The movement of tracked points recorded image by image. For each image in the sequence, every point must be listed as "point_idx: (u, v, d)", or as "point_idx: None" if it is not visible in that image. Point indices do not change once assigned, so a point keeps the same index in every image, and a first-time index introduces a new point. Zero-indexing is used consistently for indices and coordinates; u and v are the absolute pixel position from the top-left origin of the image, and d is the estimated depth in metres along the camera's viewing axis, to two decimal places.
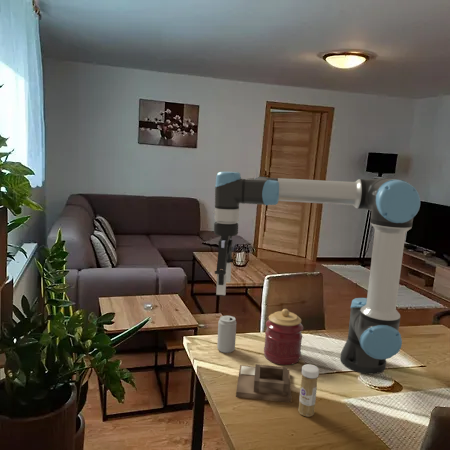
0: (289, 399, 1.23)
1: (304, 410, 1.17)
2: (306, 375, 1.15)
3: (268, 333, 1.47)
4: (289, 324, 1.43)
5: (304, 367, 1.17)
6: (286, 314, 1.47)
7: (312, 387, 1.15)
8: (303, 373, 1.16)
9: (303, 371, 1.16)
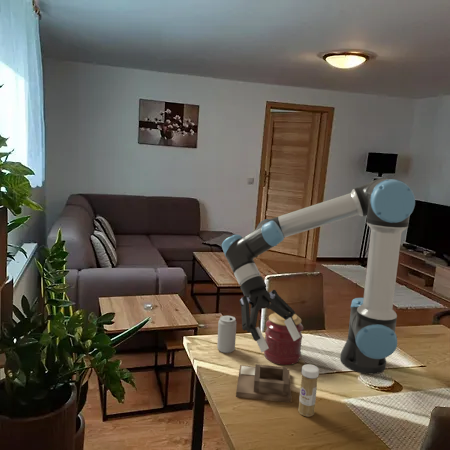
0: (289, 399, 1.23)
1: (304, 410, 1.17)
2: (306, 375, 1.15)
3: (268, 333, 1.47)
4: None
5: (304, 367, 1.17)
6: None
7: (312, 387, 1.15)
8: (303, 373, 1.16)
9: (303, 371, 1.16)
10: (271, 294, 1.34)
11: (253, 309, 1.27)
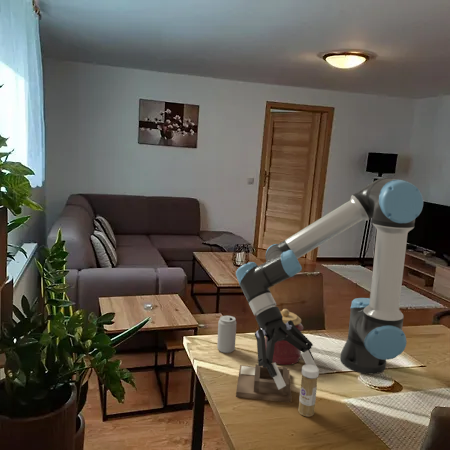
0: (289, 399, 1.23)
1: (304, 410, 1.17)
2: (306, 375, 1.15)
3: None
4: None
5: (304, 367, 1.17)
6: (286, 314, 1.47)
7: (312, 387, 1.15)
8: (303, 373, 1.16)
9: (303, 371, 1.16)
10: (287, 325, 1.28)
11: (269, 342, 1.21)
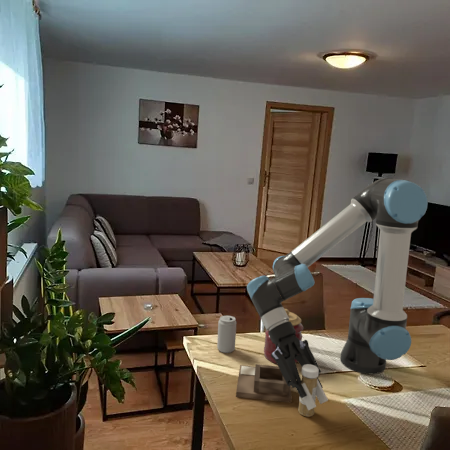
0: (289, 399, 1.23)
1: (304, 410, 1.17)
2: (306, 375, 1.15)
3: None
4: None
5: (304, 367, 1.17)
6: None
7: (312, 387, 1.15)
8: (303, 373, 1.16)
9: (303, 371, 1.16)
10: (301, 343, 1.25)
11: (288, 361, 1.19)
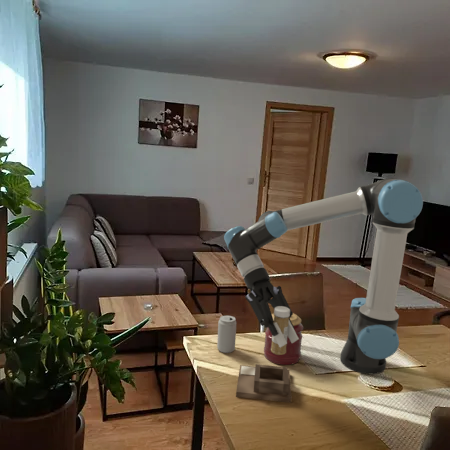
0: (289, 399, 1.23)
1: (276, 348, 1.23)
2: (278, 315, 1.22)
3: (268, 333, 1.47)
4: None
5: (276, 308, 1.23)
6: None
7: (283, 326, 1.22)
8: (275, 313, 1.22)
9: (275, 311, 1.22)
10: (275, 289, 1.31)
11: (262, 303, 1.26)
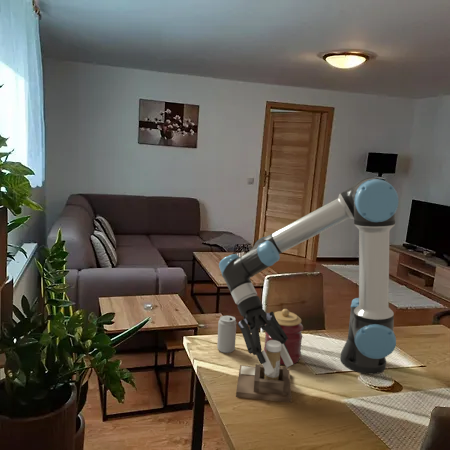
0: (289, 399, 1.23)
1: None
2: (269, 349, 1.26)
3: None
4: (289, 324, 1.43)
5: (268, 342, 1.27)
6: (286, 314, 1.47)
7: (275, 361, 1.26)
8: (267, 348, 1.26)
9: (267, 346, 1.26)
10: (268, 315, 1.35)
11: (253, 331, 1.29)
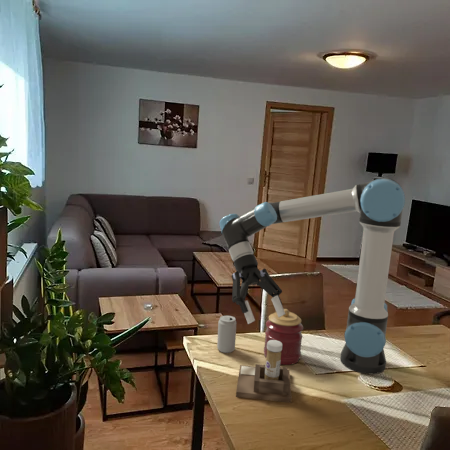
0: (289, 399, 1.23)
1: None
2: (270, 349, 1.26)
3: (268, 333, 1.47)
4: (289, 324, 1.43)
5: (269, 342, 1.27)
6: (286, 314, 1.47)
7: (276, 360, 1.26)
8: (268, 347, 1.27)
9: (268, 345, 1.27)
10: (261, 272, 1.42)
11: (243, 284, 1.35)
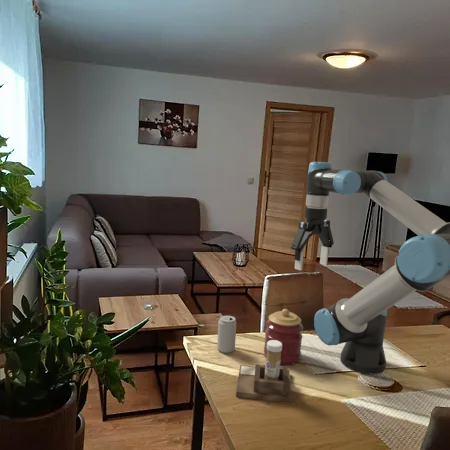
0: (289, 399, 1.23)
1: None
2: (270, 349, 1.26)
3: (268, 333, 1.47)
4: (289, 324, 1.43)
5: (269, 342, 1.27)
6: (286, 314, 1.47)
7: (275, 361, 1.26)
8: (268, 348, 1.26)
9: (268, 346, 1.26)
10: (325, 223, 1.51)
11: (306, 234, 1.46)
